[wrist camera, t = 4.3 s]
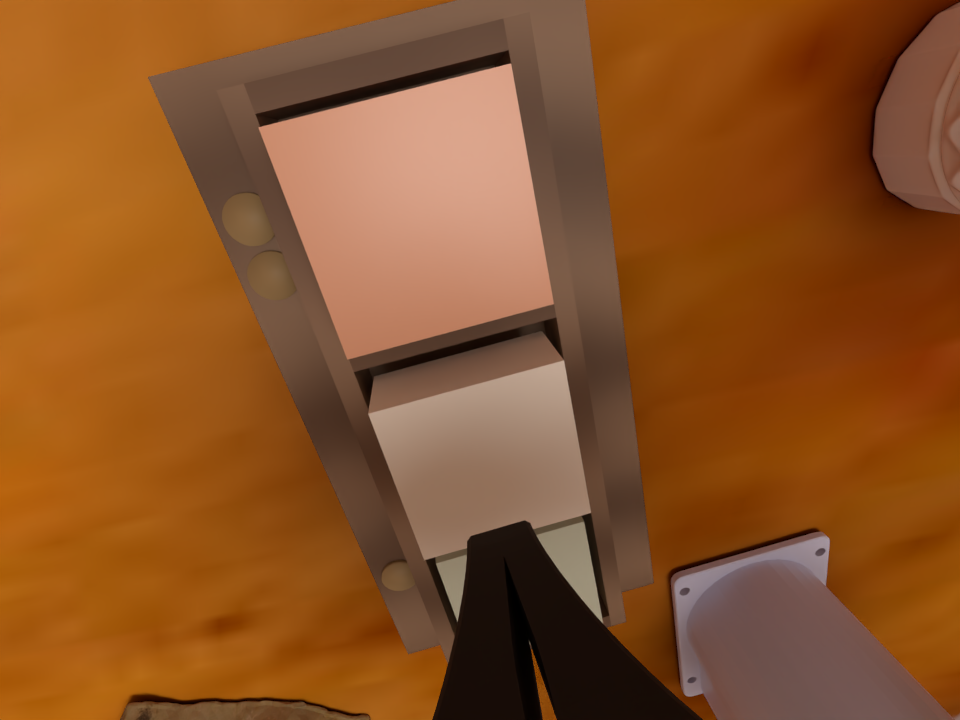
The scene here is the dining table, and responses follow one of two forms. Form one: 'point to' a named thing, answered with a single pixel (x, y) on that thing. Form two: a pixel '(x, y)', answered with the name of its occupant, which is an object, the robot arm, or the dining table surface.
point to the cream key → (481, 441)
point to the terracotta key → (416, 209)
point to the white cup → (923, 119)
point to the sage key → (562, 547)
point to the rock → (232, 711)
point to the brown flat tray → (348, 383)
